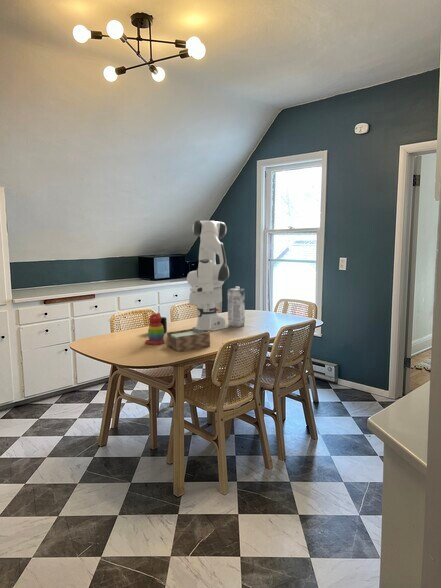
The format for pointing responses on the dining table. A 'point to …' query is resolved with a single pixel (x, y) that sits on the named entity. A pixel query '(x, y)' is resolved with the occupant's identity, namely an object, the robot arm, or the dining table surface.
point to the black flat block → (164, 323)
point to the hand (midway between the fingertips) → (206, 311)
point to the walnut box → (188, 341)
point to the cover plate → (188, 333)
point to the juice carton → (236, 307)
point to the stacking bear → (155, 330)
